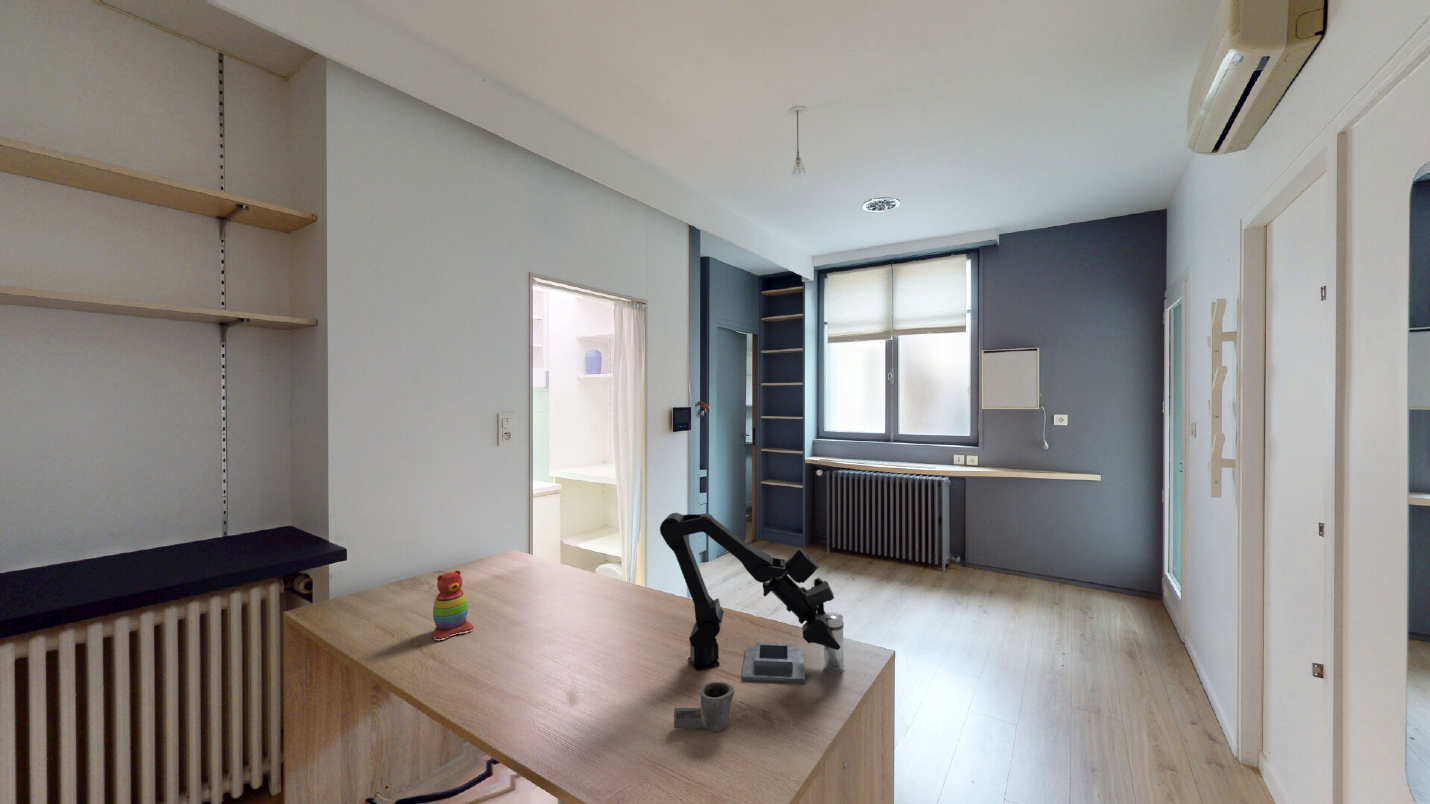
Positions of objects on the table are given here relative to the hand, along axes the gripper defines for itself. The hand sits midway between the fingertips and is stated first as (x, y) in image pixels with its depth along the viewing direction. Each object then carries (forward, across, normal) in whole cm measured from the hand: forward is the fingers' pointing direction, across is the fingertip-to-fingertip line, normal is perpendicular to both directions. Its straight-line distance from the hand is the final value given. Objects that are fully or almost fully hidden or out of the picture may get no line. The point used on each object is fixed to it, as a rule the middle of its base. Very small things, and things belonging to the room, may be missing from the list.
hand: (837, 639), depth 130 cm
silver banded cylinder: (+4, 0, +6) cm, 7 cm away
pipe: (-16, -26, +26) cm, 40 cm away
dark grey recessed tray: (-6, 0, +16) cm, 17 cm away
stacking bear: (-75, +12, +84) cm, 114 cm away
